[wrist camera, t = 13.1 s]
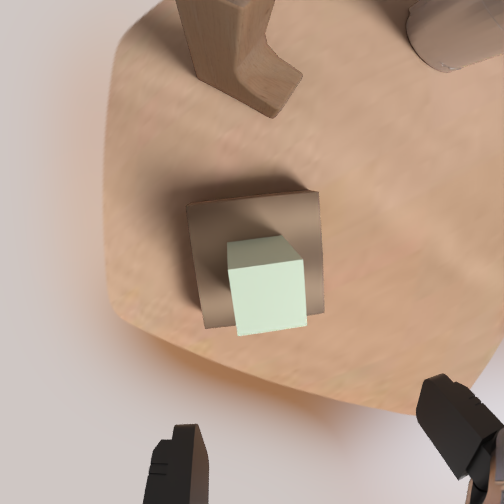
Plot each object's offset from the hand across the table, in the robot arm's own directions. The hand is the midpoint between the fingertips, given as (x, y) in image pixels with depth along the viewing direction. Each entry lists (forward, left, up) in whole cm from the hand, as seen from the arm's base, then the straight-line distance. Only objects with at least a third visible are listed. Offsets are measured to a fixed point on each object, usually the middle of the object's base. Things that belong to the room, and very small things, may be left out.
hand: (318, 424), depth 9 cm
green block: (0, 0, -20) cm, 20 cm away
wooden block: (-18, +1, -24) cm, 30 cm away
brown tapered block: (0, 0, -24) cm, 24 cm away
